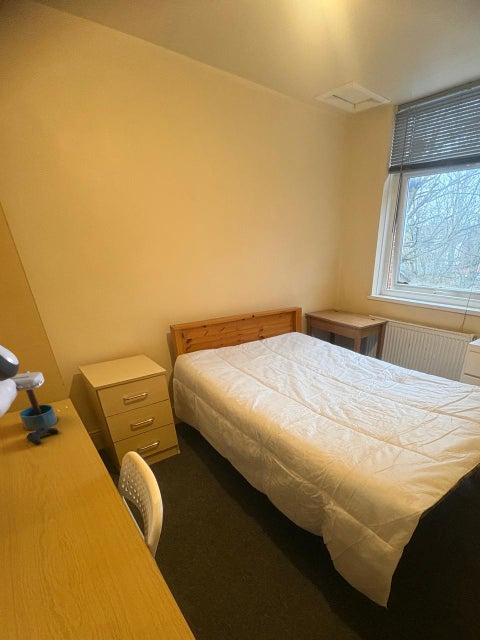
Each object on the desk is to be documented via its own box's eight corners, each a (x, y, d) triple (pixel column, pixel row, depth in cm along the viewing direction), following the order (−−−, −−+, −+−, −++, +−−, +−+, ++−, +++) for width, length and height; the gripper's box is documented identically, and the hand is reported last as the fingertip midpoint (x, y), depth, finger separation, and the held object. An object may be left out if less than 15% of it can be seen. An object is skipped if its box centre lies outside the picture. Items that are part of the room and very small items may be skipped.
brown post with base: (32, 425, 128) (18, 392, 121) (34, 419, 132) (22, 387, 125) (47, 423, 130) (35, 390, 124) (50, 417, 134) (38, 384, 128)
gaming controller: (39, 444, 117) (25, 433, 116) (33, 451, 119) (19, 440, 118) (60, 430, 126) (47, 420, 124) (55, 437, 128) (42, 427, 126)
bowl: (21, 432, 125) (16, 419, 122) (27, 419, 134) (22, 407, 131) (55, 426, 130) (50, 413, 127) (59, 414, 138) (54, 402, 135)
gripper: (36, 376, 102) (44, 362, 113) (-50, 386, 94) (-33, 370, 105) (43, 394, 105) (49, 379, 116) (-40, 405, 97) (-25, 388, 108)
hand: (10, 375), depth 110 cm, fingers open, 8 cm apart
